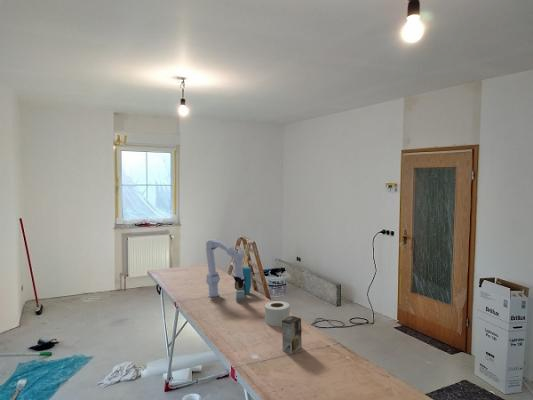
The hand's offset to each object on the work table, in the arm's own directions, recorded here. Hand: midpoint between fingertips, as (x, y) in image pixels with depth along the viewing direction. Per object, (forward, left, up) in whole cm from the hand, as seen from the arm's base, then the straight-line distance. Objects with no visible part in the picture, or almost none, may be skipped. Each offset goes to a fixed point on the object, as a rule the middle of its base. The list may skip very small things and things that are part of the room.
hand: (239, 286), depth 286 cm
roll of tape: (+47, +19, -11) cm, 52 cm away
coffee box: (+87, +19, -11) cm, 90 cm away
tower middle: (0, +1, -7) cm, 7 cm away
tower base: (0, 0, -11) cm, 11 cm away
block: (-18, +5, -11) cm, 21 cm away
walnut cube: (0, 0, -2) cm, 2 cm away
